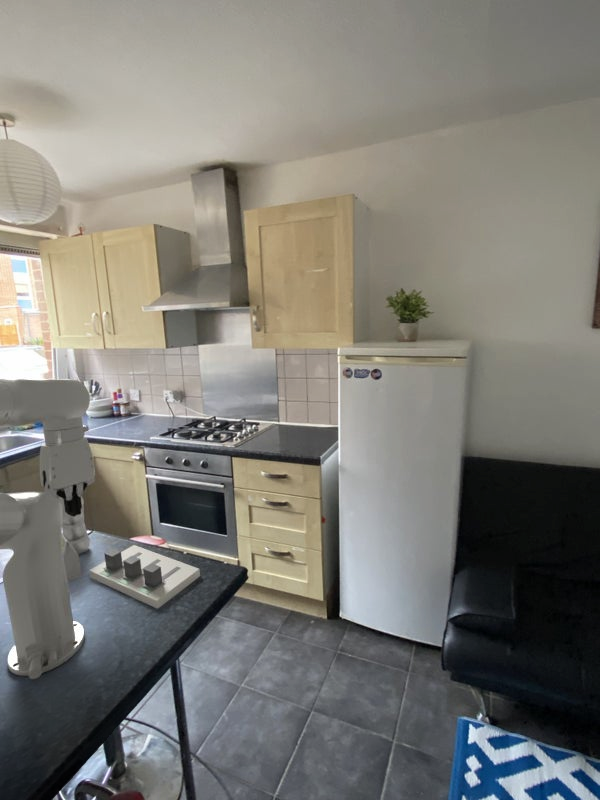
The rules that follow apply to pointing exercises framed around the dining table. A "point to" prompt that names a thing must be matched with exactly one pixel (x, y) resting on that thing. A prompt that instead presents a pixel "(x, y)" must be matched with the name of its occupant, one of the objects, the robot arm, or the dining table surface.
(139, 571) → the block
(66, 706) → the dining table surface
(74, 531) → the plastic bottle
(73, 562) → the white printed box
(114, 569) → the block
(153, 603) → the panel
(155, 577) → the breaker near
